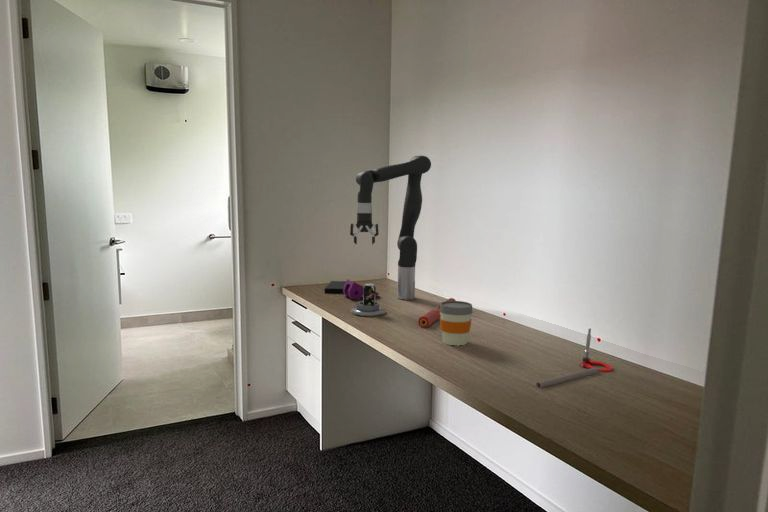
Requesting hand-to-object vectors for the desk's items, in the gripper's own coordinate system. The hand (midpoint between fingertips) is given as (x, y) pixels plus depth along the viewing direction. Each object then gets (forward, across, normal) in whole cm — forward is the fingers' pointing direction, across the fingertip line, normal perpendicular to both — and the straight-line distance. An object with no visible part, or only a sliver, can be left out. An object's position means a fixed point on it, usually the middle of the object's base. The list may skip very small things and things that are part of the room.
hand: (364, 244), depth 263 cm
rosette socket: (+30, -3, +23) cm, 38 cm away
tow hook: (+31, -83, +92) cm, 128 cm away
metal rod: (+31, -70, +104) cm, 129 cm away
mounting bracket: (+30, +2, -11) cm, 32 cm away
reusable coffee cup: (+30, -39, +68) cm, 84 cm away
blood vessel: (+30, -36, +28) cm, 55 cm away
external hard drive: (+30, +15, -30) cm, 46 cm away
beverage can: (+28, -4, +23) cm, 37 cm away
